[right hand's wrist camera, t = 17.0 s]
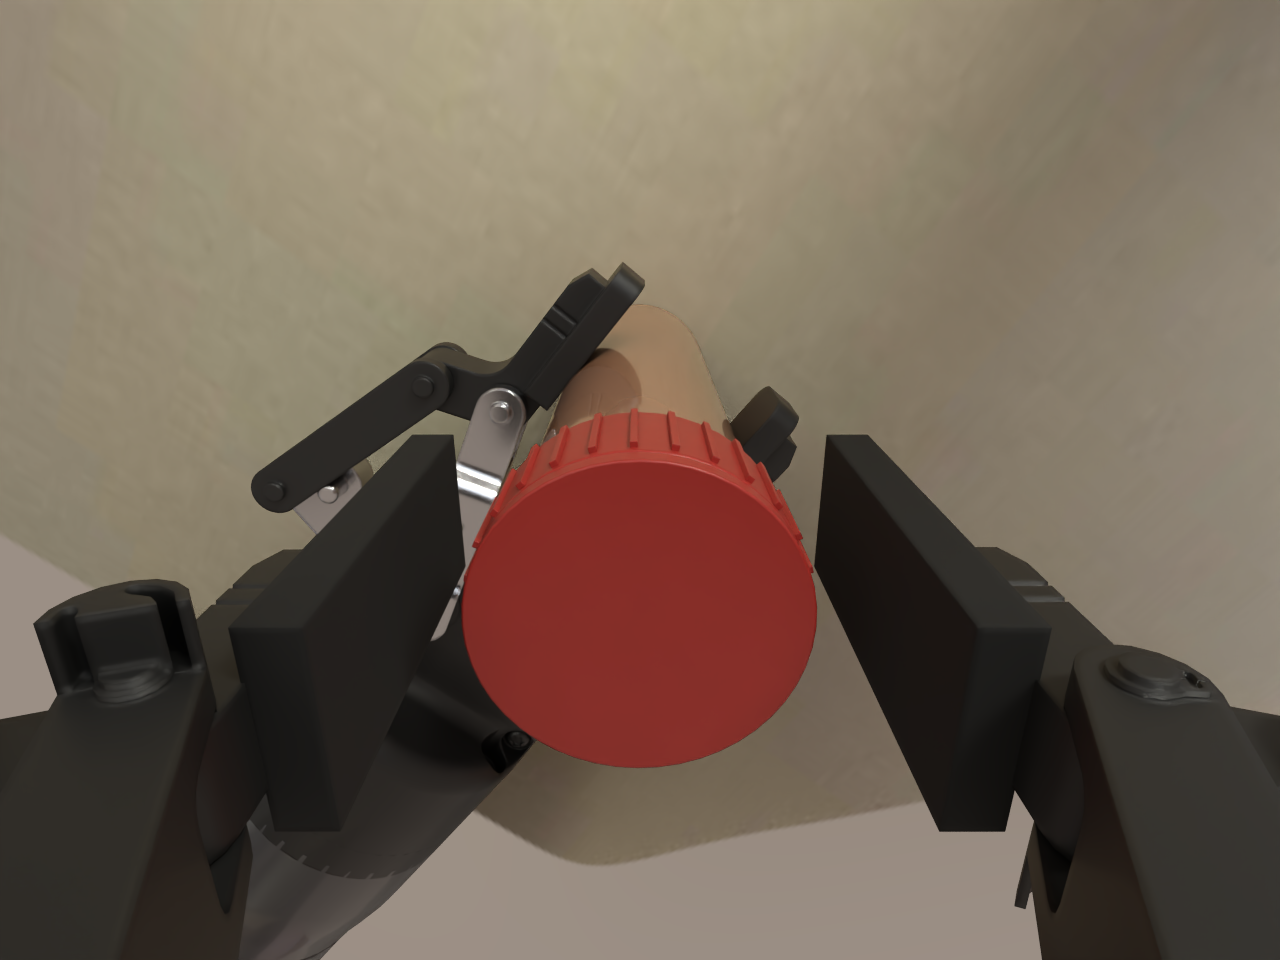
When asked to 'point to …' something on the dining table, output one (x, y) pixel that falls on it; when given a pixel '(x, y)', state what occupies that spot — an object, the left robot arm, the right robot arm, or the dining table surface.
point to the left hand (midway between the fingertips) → (707, 341)
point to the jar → (643, 375)
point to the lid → (639, 593)
